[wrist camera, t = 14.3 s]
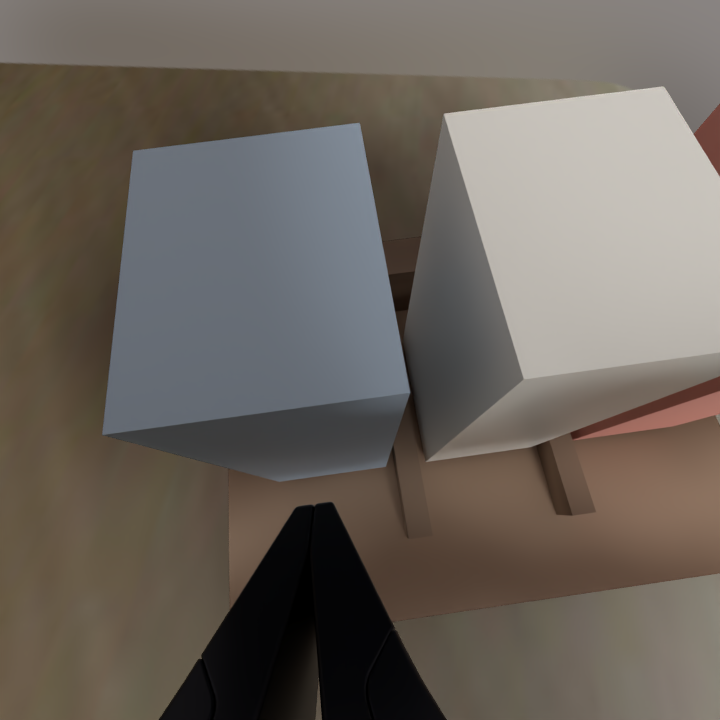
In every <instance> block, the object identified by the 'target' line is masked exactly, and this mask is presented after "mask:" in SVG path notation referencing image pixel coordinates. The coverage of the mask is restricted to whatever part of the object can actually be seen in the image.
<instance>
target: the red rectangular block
mask: <svg viewBox="0 0 720 720" xmlns="http://www.w3.org/2000/svg"><path fill="white" fill-rule="evenodd" d="M694 136H695V138H696V139H697V141H698V143H699V144H700V146H701V147H702V149H703V151H704V152H705V154H706V155H707V157H708V159H709V160H710V162H711V163H712V165H713V167H714V168H715V170H716V172H717V173H718V175H719V176H720V104H719V105H718V106H717V108H716V109H715V110H714V111H713V112H712V113H711V115H710V116H709V117H708V118H707V119H706V120H705V121H704V123H703V124H702V125H701V126H700V127H699V129H698V130H697V131H696V132H695V133H694ZM718 414H720V376H719V377H717V378H714V379H711V380H709V381H706V382H703V383H701V384H698V385H695V386H693V387H690V388H687V389H685V390H682V391H679V392H677V393H674V394H671V395H669V396H666V397H663V398H661V399H658V400H655V401H653V402H650V403H647V404H645V405H642V406H639V407H637V408H634V409H631V410H629V411H626V412H623V413H621V414H618V415H615V416H613V417H610V418H607V419H605V420H602V421H599V422H597V423H594V424H591V425H589V426H586V427H583V428H581V429H578V430H575V431H573V432H570V434H571V437H572V440H580V439H587V438H594V437H601V436H608V435H616V434H623V433H630V432H637V431H644V430H651V429H658V428H665V427H672V426H676V425H680V424H684V423H688V422H691V421H695V420H699V419H703V418H706V417H710V416H714V415H718Z"/></svg>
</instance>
